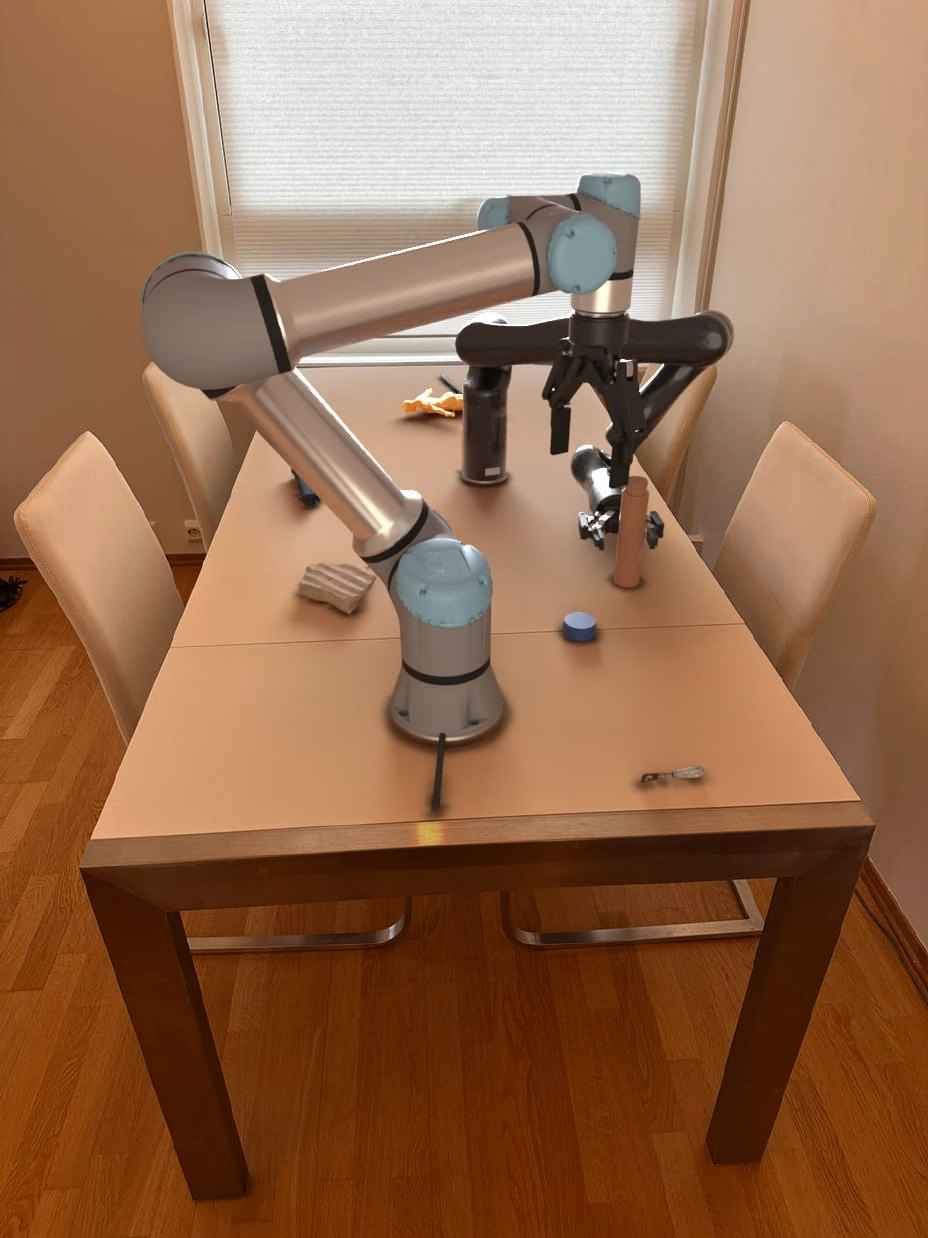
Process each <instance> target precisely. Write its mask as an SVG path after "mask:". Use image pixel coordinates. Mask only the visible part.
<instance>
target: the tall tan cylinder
mask: <svg viewBox="0 0 928 1238" xmlns="http://www.w3.org/2000/svg"><path fill="white" fill-rule="evenodd" d="M648 485H649V480H648V479H647V478H646V477H644V476H641V475H629V481H628V485H626V486H625V488H624V489H623V490H622V499H621V509H620V519H619V530H618V534H617V541H616V549H615V561H614V571H613V572H614V574H613V583H614V584H615V585H616V586H618V587H621V588H635V587H637V586H638V585H640V579H641V570H642V562H643V561H642V560H643V551H644V543H645V538H644V535H645V532H646V528H645V527H646V518H647V515H648V510H649V509H648V507H649V500H650V491H649V489H648Z"/></svg>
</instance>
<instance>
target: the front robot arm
mask: <svg viewBox="0 0 928 1238" xmlns="http://www.w3.org/2000/svg"><path fill="white" fill-rule="evenodd" d="M641 187H642V186H641V181H640V180H639V178H638V177H637V176H636V175H633V174H631V173H625V172H613V171H612V172H610V171H607V172H603V171H600V172H589V173H588V172H587V173H583V174H581V175H580V176H579V178H578V180H577V184H576V188H575V192H570V193H566V194H546V195H545V194H542V195H540V194H539V195H512V194H507V195H506V196H497V197H489V198H486V199H485V200H483V201H482V203H481V204H480V206H479V209H478V212H477V217H476V227H475V229H476V231H475V232H472V233H468V234H463V235H459V236H455V237H452V238H448V239H447V238H446V239H444V240H440V241H436V242H431V243H427V244H424V245H419V246H415V247H411V248H406V249H403V250H399V251H395V252H391V253H387V254H383V255H379V256H374V257H370V258H366V259H362V260H360V261H355V262H351V263H347V264H343V265H339V266H335V267H330V268H326V269H322V270H318V271H314V272H310V273H306V274H303V275H298V276H294V277H289V278H286V279H282V280H280V279H276V278H274V277H273V276H271V275H270V274H268V273H267V272H265V273H260V274H256V275H251V276H248V277H247V276H246V277H242V276H241V274H239V272H238V270H236V269H235V268H234V267H233V265H231V264H229V263H227V262H226V261H224V260H223V259H221V258H219V257H217V256H215V255H213V254H210V253H207V252H203V251H184V252H179V253H175V254H173V255H171V256H169V257H167V258H165V259H164V260H162V261H161V262H160V263H159V264H158V265H157V266H156V267H155V269H154V270H153V271H152V272H151V273H150V274H149V275H148V277H147V280H146V282H145V283H144V285H143V289H142V293H141V301H140V302H141V319H140V332H141V337H142V342H143V345H144V348H145V350H146V352H147V355H148V356H149V357H150V359H151V361H152V362H153V363H154V365H155V366H156V367H157V368H158V369H159V370H160V371H161V372H162V373H163V374H165V376H166V377H168V378H169V379H171V380H172V381H174V382H175V383H177V384H179V385H180V384H181V385H182V386H185V387H187V388H191V389H197V390H200V391H201V392H202V394H203V395H205V396H206V398H207V399H208V400H209V401H213V402H227V403H230V404H231V406H233V408H234V409H235V410H236V411H237V412H238V413H239V414H240V415H241V416H242V417H243V418H244V419H245V421H247V422H248V424H249V425H251V427H252V428H253V429H254V430H255V431H256V432H257V433H258V434H259V435H260V436H261V437H262V438H263V439H264V441H265V442H266V443H268V445H269V446H270V447H271V448H272V449H273V450H274V452H276V453H277V454H278V455H279V456H280V458H282V459H283V460H284V462H285V463H286V464H287V465H288V466H289V467H290V469H291V468H292V469H293V470H294V471H295V472H296V473H297V474H298V475H299V477H300V478H301V479H302V480H303V481H304V482H305V483H306V484H307V485H308V486H309V487H310V488H311V489H312V490H313V491H314V492H315V494H316V495H317V496H318V497H319V500H321V501H322V502H323V503H324V505H326V507H327V508H328V509H329V510H330V511H331V512H332V513H333V514H334V515H335V517H337V518H338V519H339V521H341V522H342V523H343V525H344V526H345V527H346V528H347V529H348V530H349V531H350V532H351V533H352V542H351V547H352V550H353V551H354V553H355V554H356V555H357V556H358V557H359V558H360V559H361V560H362V562H364V563H365V565H366V566H367V567H370V571H371V572H373V573H374V574H375V575H376V576H377V577H378V578H379V580H380V581H381V582H382V583H383V585H384V586H385V589H386V591H387V593H388V595H389V598H390V600H391V603H392V605H393V608H394V610H395V613H396V615H397V619H398V623H399V633H400V634H399V635H400V652H401V653H400V655H401V667H400V669H399V672H398V675H397V678H396V681H395V684H394V687H393V690H392V693H391V696H390V703H389V706H390V718H391V721H392V724H393V725H394V727H395V728H396V729H397V731H398V732H399V733H400V734H402V735H403V736H404V737H406V738H407V739H409V740H411V741H413V742H415V743H417V744H420V745H421V744H422V745H425V746H430V747H437V754H436V762H435V763H436V765H435V773H434V775H435V776H434V785H433V793H432V803H431V811H432V812H434V813H435V812H436V813H437V812H438V811H439V810H440V802H441V801H440V800H441V793H442V781H443V770H444V759H445V749H446V748H454V747H455V748H457V747H463V746H467V745H471V744H473V743H476V742H480V741H481V740H483V739H485V738H486V737H488V736H489V735H491V734H492V733H493V732H494V731H495V730H496V729H498V727H499V726H500V724H501V722H502V720H503V717H504V696H503V693H502V690H501V687H500V685H499V682H498V679H497V677H496V674H495V672H494V668H493V666H492V664H491V654H492V653H491V651H492V649H491V648H492V647H491V645H492V599H493V595H494V585H493V584H494V583H493V578H492V571H491V567H490V564H489V562H488V561H489V560H487V558H486V557H485V555H484V554H483V553H482V552H481V551H480V550H479V549H478V548H476V547H474V546H473V545H471V544H466V545H465V544H464V542H463V541H461V540H458V539H457V537H456V536H455V534H454V532H453V529H452V527H451V525H450V524H449V523H448V521H447V520H446V519H445V518H444V516H443V515H441V514H440V513H439V512H437V511H436V510H435V509H433V508H431V506H430V505H429V504H428V503H427V502H426V501H425V499H424V498H423V497H422V496H421V494H420V493H418V492H417V491H415V490H409V489H408V490H403V489H401V488H400V487H399V486H398V485H397V484H396V483H395V481H394V480H393V479H392V478H391V477H390V476H389V475H388V473H387V472H386V471H385V470H384V469H383V468H382V466H381V465H380V464H379V463H378V462H377V460H376V459H375V458H374V457H373V455H372V454H370V452H369V451H368V450H367V449H366V448H365V446H363V444H362V443H361V442H360V441H359V439H358V438H357V437H356V436H355V434H353V432H352V431H351V430H350V429H349V428H348V427H347V425H346V424H345V423H344V422H343V421H342V420H341V419H340V417H339V416H338V415H337V414H336V413H335V411H334V410H333V409H332V408H331V407H330V406H329V405H328V403H327V402H326V401H325V400H324V399H323V398H322V396H321V395H320V394H319V393H318V392H317V391H316V389H315V388H314V387H313V386H312V385H311V383H310V382H309V381H308V380H307V378H305V377H304V375H303V374H302V373H301V372H300V371H299V369H298V368H297V367H298V365H299V363H300V362H301V359H303V358H305V357H310V356H313V355H317V354H321V353H325V352H329V351H333V350H336V349H340V348H344V347H347V346H351V345H355V344H359V343H362V342H366V341H370V340H374V339H378V338H382V337H385V336H390V335H393V334H396V333H400V332H403V331H408V330H411V329H416V328H419V327H424V326H427V325H430V324H434V323H439V322H442V321H446V320H451V319H454V318H457V317H461V316H465V315H468V314H469V315H470V314H473V313H477V312H481V311H483V310H488V309H491V308H495V307H499V306H502V305H507V304H510V303H514V302H517V301H522V300H526V299H529V298H533V297H537V296H541V295H545V294H550V293H554V292H558V291H560V292H562V293H564V294H570V295H569V296H570V297H569V298H570V299H569V306H570V307H571V308H572V311H571V312H570V313H569V316H570V318H569V334H568V338H565V339H560V340H559V342H558V349H557V355H556V358H555V361H554V363H553V366H551V369H550V370H549V374H548V376H547V379H546V382H545V384H544V387H543V390H542V391H541V399H542V400H543V401H547V402H548V406H549V408H550V425H549V426H550V429H551V430H550V445H549V446H550V447H549V448H550V449H549V454H550V455H551V456H557V455H562V454H566V453H569V451H570V450H569V448H570V436H571V435H570V434H571V417H572V407H569V405H572V403H571V400H572V399H573V398H574V396H575V395H576V393H577V392H578V391H579V390H580V388H581V387H582V385H584V384H589V385H590V386H591V388H592V387H593V388H595V389H596V391H597V394H599V395H600V396H601V397H602V400H603V402H604V405H605V407H606V410H607V413H608V416H609V418H610V421H611V422H610V423H612V424H613V427H614V430H615V433H616V435H617V439H615V440H613V443H612V447H611V455H610V456H611V465H610V476H609V486H608V487H609V488H611V489H614V488H618V487H622V486H626V485H628V481H629V477H630V471H631V470H630V469H631V466H632V464H633V462H634V455H635V453H634V446H635V442H636V441H639V440H643V439H645V440H646V439H648V438H649V436H648V430H647V425H646V420H645V415H644V409H643V404H642V399H641V394H640V389H641V388H640V384H639V379H638V377H639V364H638V362H637V361H636V360H635V359H634V360H628V361H625V360H621V355H620V350H621V347H622V346H623V345H624V344H625V343H626V342H627V339H628V329H629V319H630V318H631V316H630V314H629V313H628V312H627V311H628V310H629V309H630V308H631V303H632V293H633V281H634V271H635V261H636V251H637V243H638V242H637V241H638V233H639V226H640V225H639V224H640V220H641V199H642V194H641V192H642V189H641ZM611 382H613V383H611ZM624 429H626V432H625V431H624ZM292 469H291V470H292Z"/></svg>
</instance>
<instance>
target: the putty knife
mask: <svg viewBox="0 0 928 1238" xmlns="http://www.w3.org/2000/svg"><path fill="white" fill-rule="evenodd" d="M704 772H705V771H704V768H702V767H701V766H697V765H695V766H688V767H683V768H679V769H675V770H673V771H671V772H653V773H652V772H651V773H650V772H649V773H644V774H642V776H641V779H640V783H642V784H645V783H648V782H653V781H659V780H665V779H668V778H673V779H674V778H675V779H693V778H694V779H695V778H700V777H702V776H703V775H704Z"/></svg>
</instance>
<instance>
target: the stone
mask: <svg viewBox="0 0 928 1238" xmlns="http://www.w3.org/2000/svg"><path fill="white" fill-rule="evenodd" d="M377 577H378V576H377V575H376V574H375V573H374V572H373V571H372V570H371V569H370V567H369V566H362V565H359V564H357V563H349V562H348V563H344V562H343V563H341V564H336V563H330V562H329V563H327V562H319V563H318V564H312V563H310V564H308V565H307V566H306V567H305V571H304V574H303V578H302V580H301V581H300V582H298V591H297V595H300V596H303V597H306V598H309V599H313V600H314V601H322V602H325V603H328V604H330V605H332V606H334V607H335V608H336V609H338V610H340V611H342V612H343V613H345V614H349V615H350V614H352V612H353V611H354V610H356V608H358V605H359V601H360V600H361V598H362V597H364V596H365V593H367V592H369V591H370V590H371V589H372V586H373V585H374V583H375V581H376V580H377Z"/></svg>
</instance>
